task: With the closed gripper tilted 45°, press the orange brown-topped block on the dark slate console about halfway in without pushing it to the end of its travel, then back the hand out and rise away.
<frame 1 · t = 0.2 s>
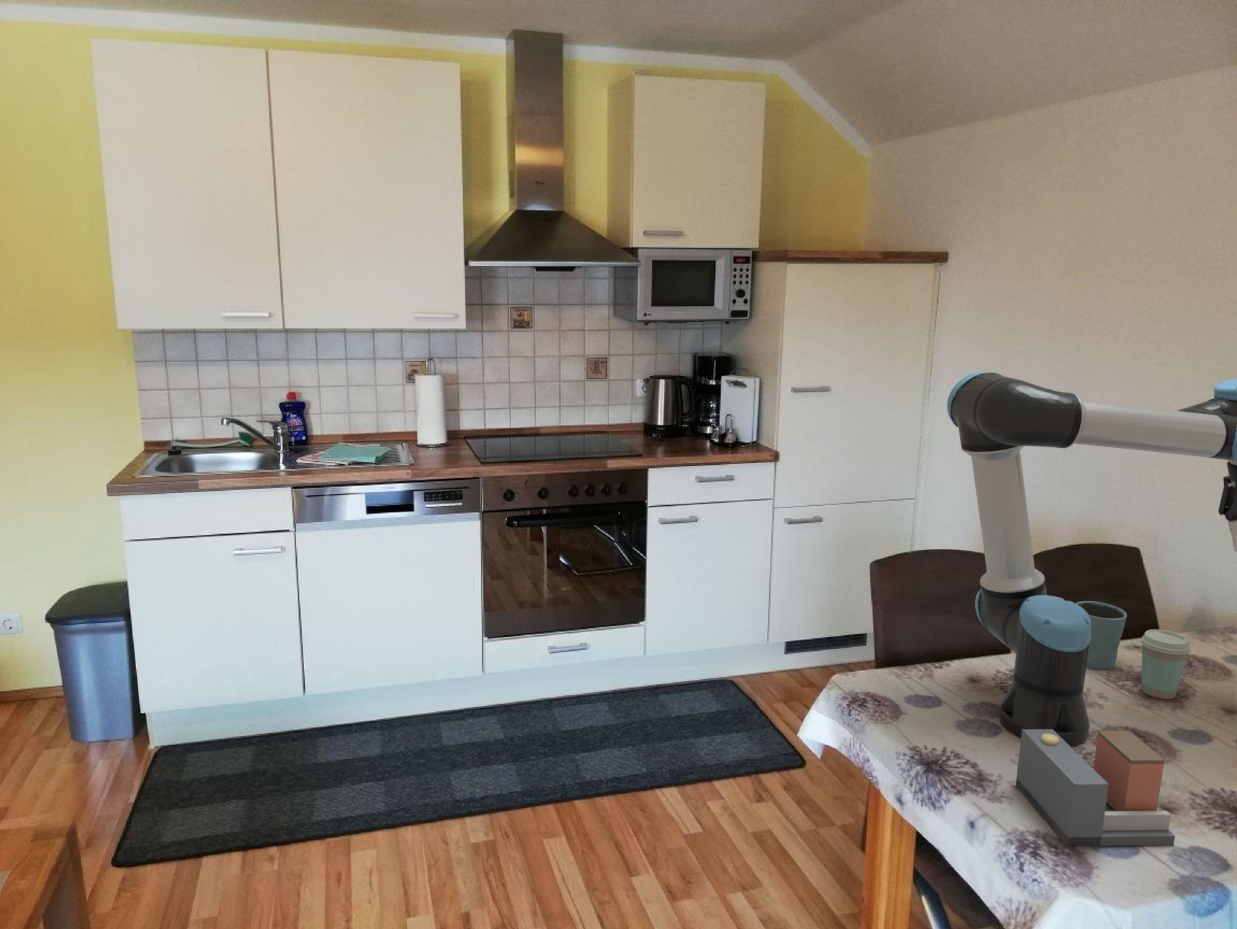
teal cup: (1093, 662, 197), on the table
coffee cup: (1158, 693, 182), on the table
orange brown-topped block: (1126, 773, 139), point 7 cm above the table, slide at 0.0 cm
console: (1090, 813, 141), on the table
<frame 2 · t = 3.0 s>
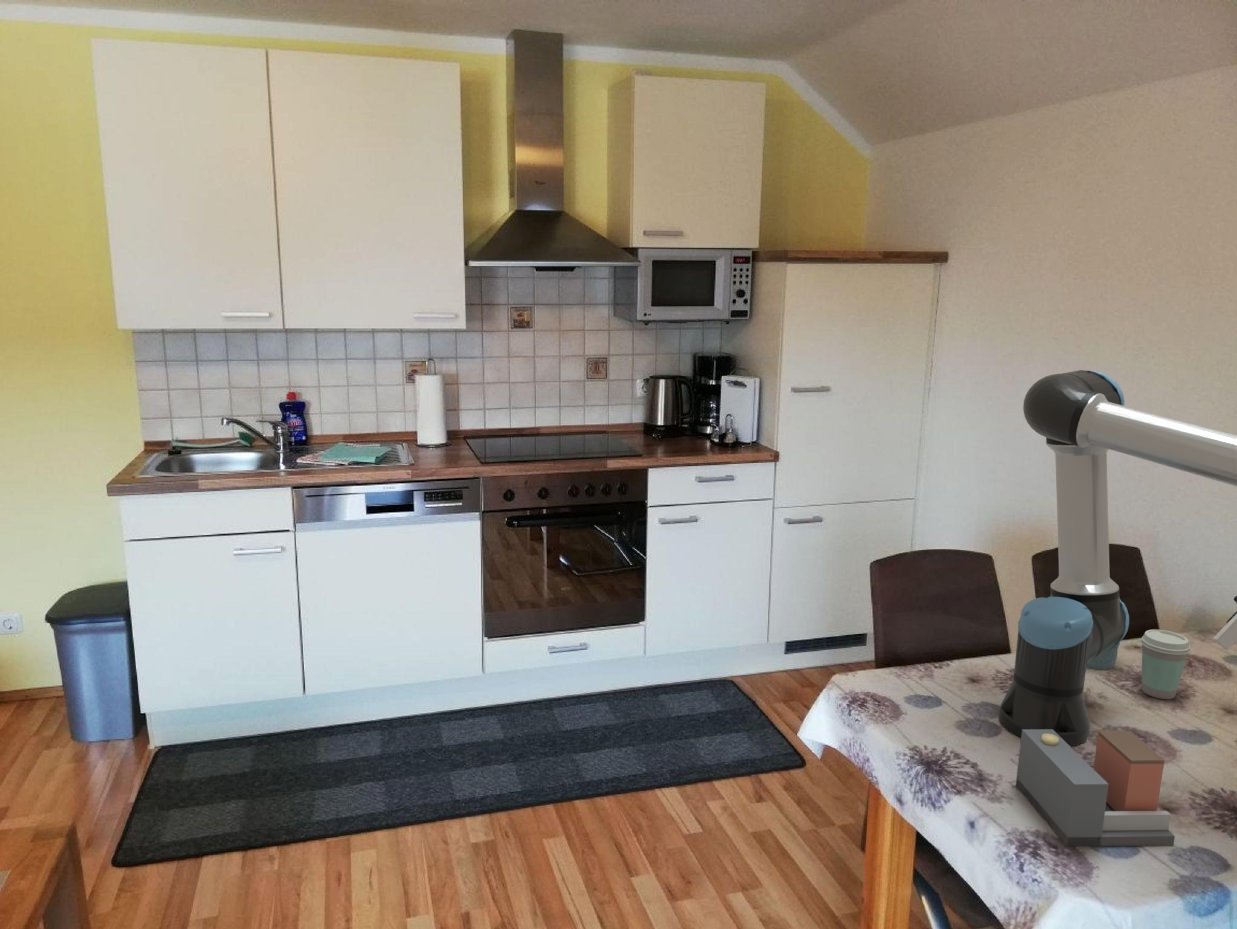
nothing on the table moved.
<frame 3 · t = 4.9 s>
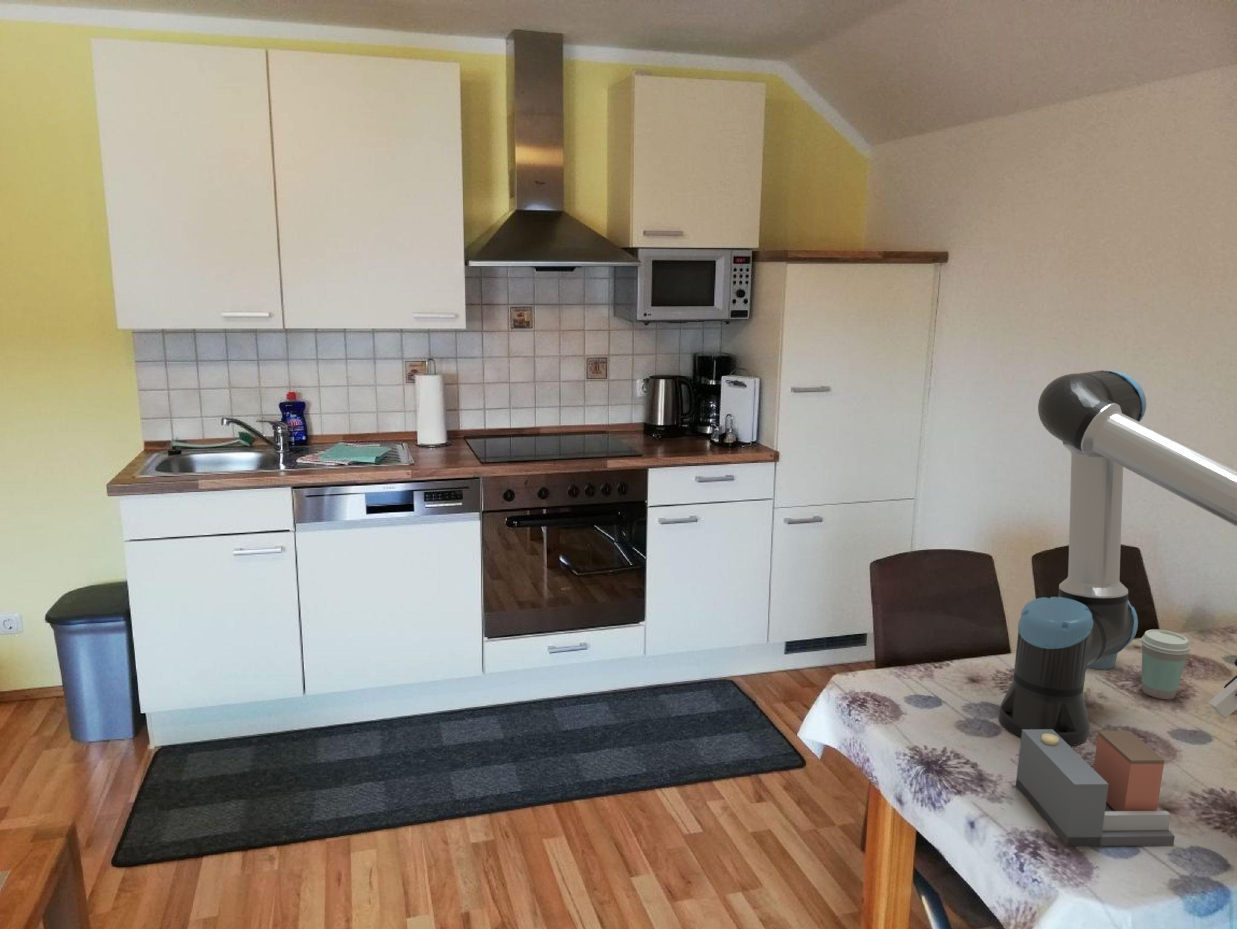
hand: (1216, 710, 137), 17 cm above the table, tool tilted 45°, fingers closed
nothing on the table moved.
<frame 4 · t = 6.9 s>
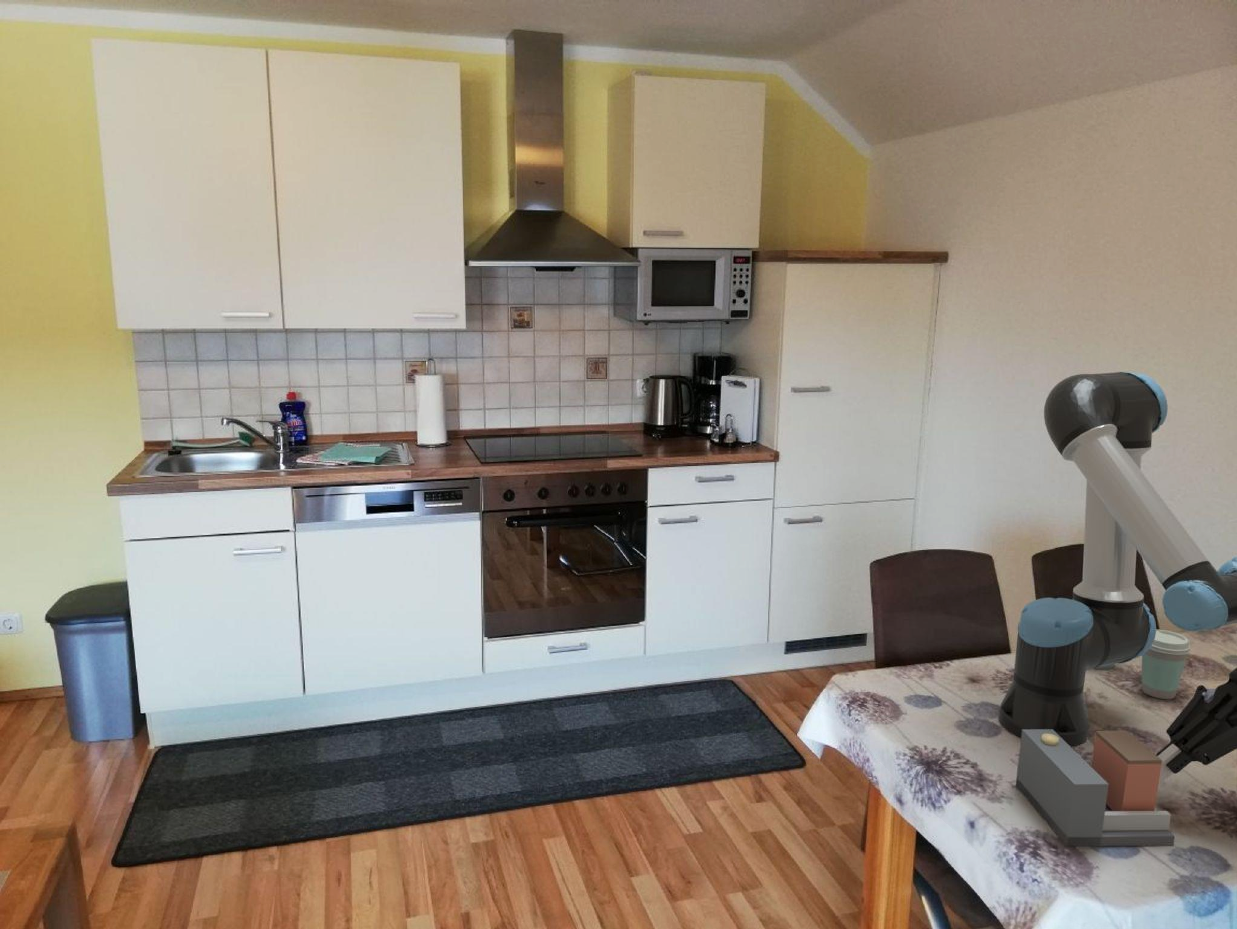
hand: (1147, 779, 140), 6 cm above the table, tool tilted 45°, fingers closed
orange brown-topped block: (1123, 773, 139), point 7 cm above the table, slide at 0.4 cm, touching gripper
everything else where it was.
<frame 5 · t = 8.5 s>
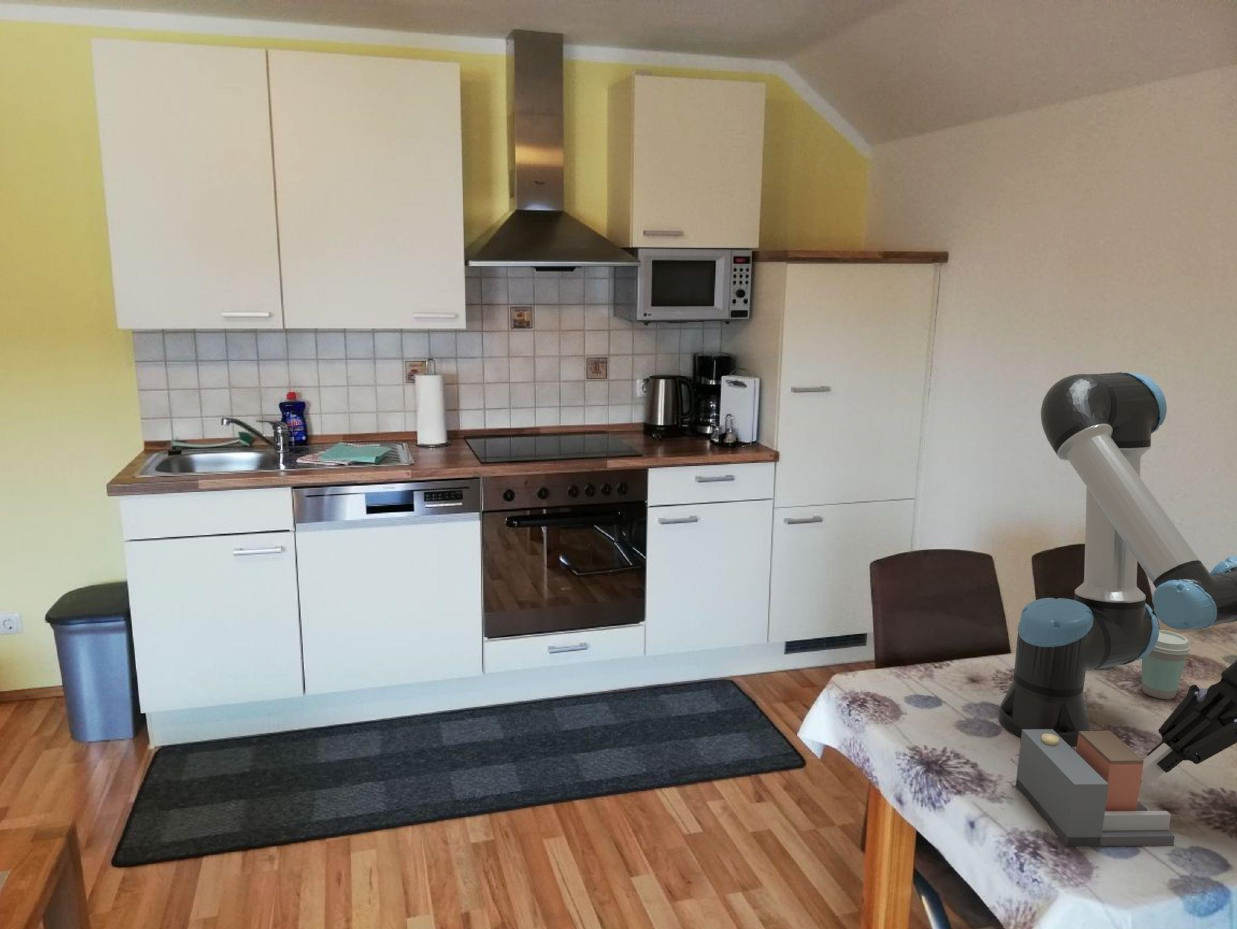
hand: (1139, 778, 140), 6 cm above the table, tool tilted 45°, fingers closed
orange brown-topped block: (1106, 773, 139), point 7 cm above the table, slide at 3.1 cm
everything else where it was.
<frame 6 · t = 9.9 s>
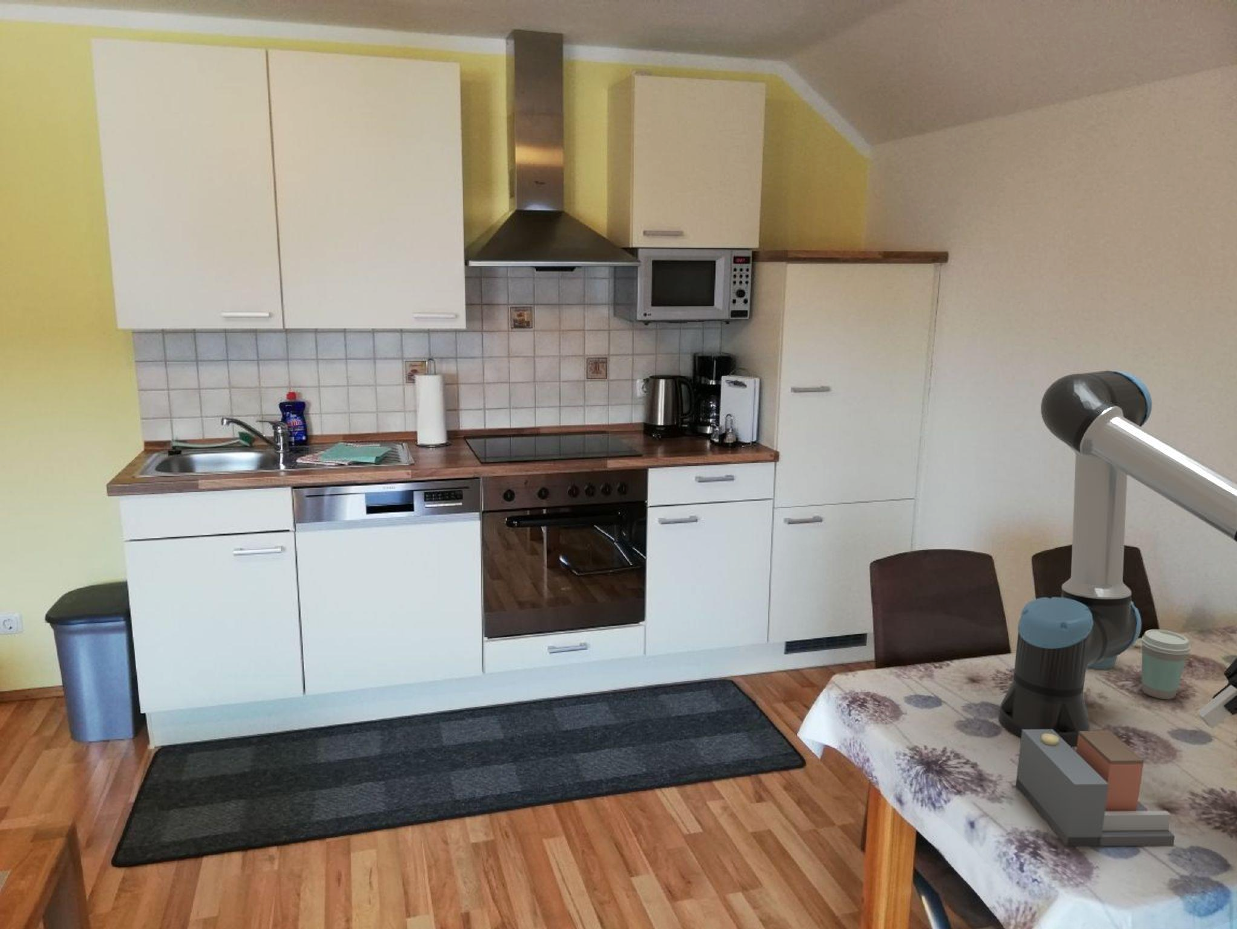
hand: (1204, 720, 138), 16 cm above the table, tool tilted 45°, fingers closed
nothing on the table moved.
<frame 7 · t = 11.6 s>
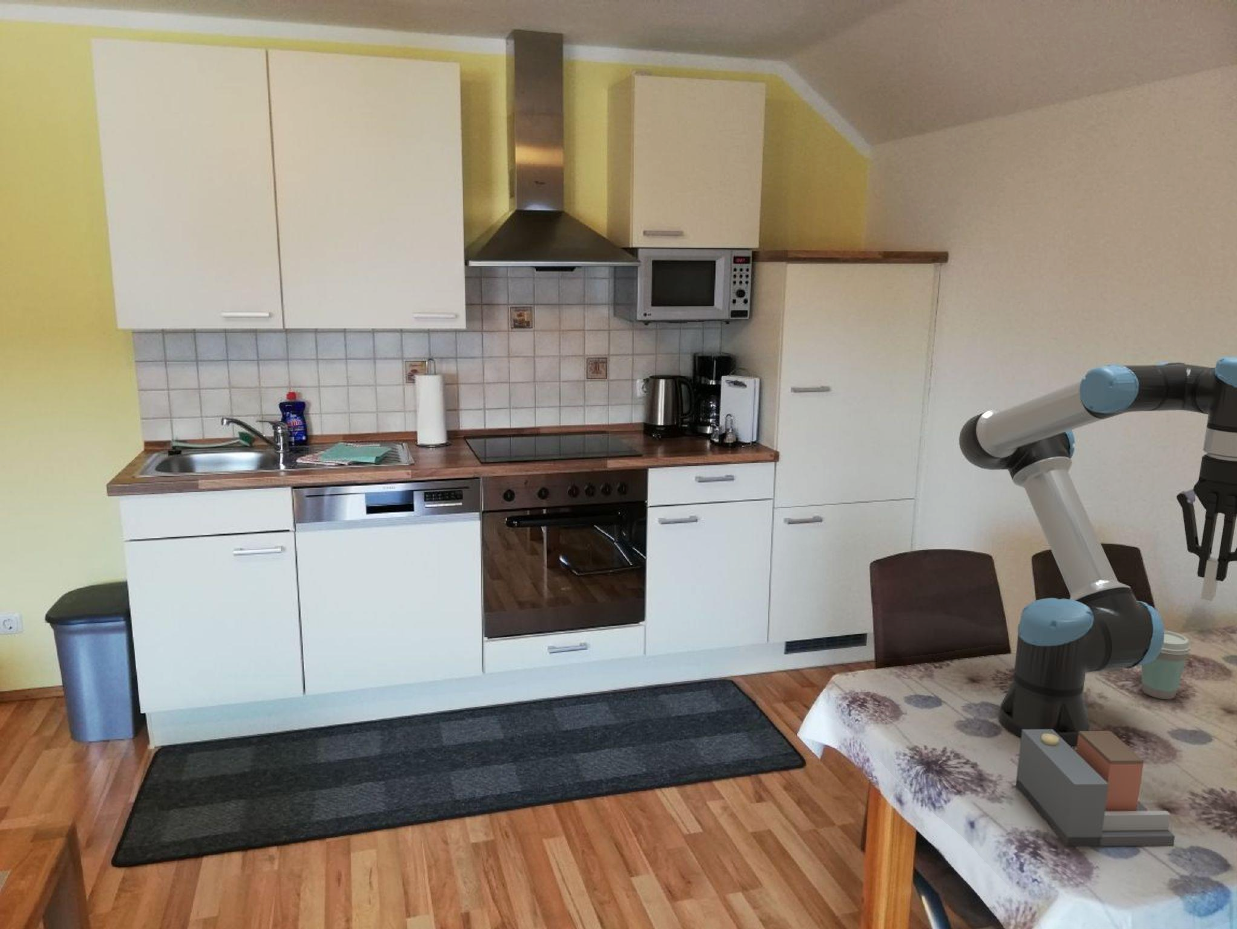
hand: (1208, 597, 148), 30 cm above the table, tool pointing down, fingers closed
nothing on the table moved.
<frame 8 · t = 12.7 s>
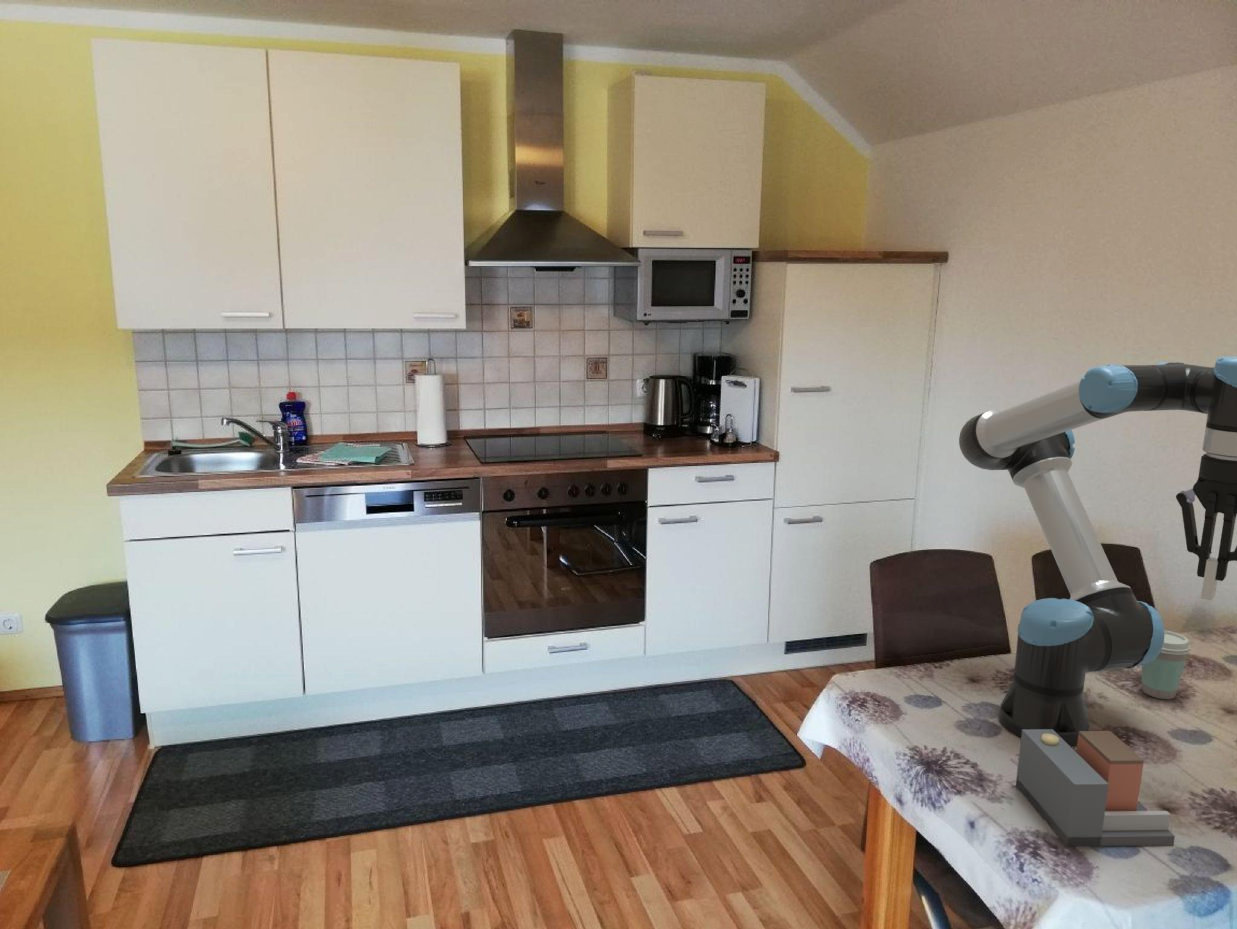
hand: (1207, 597, 148), 30 cm above the table, tool pointing down, fingers closed
nothing on the table moved.
at the end: orange brown-topped block slide at 3.1 cm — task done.
